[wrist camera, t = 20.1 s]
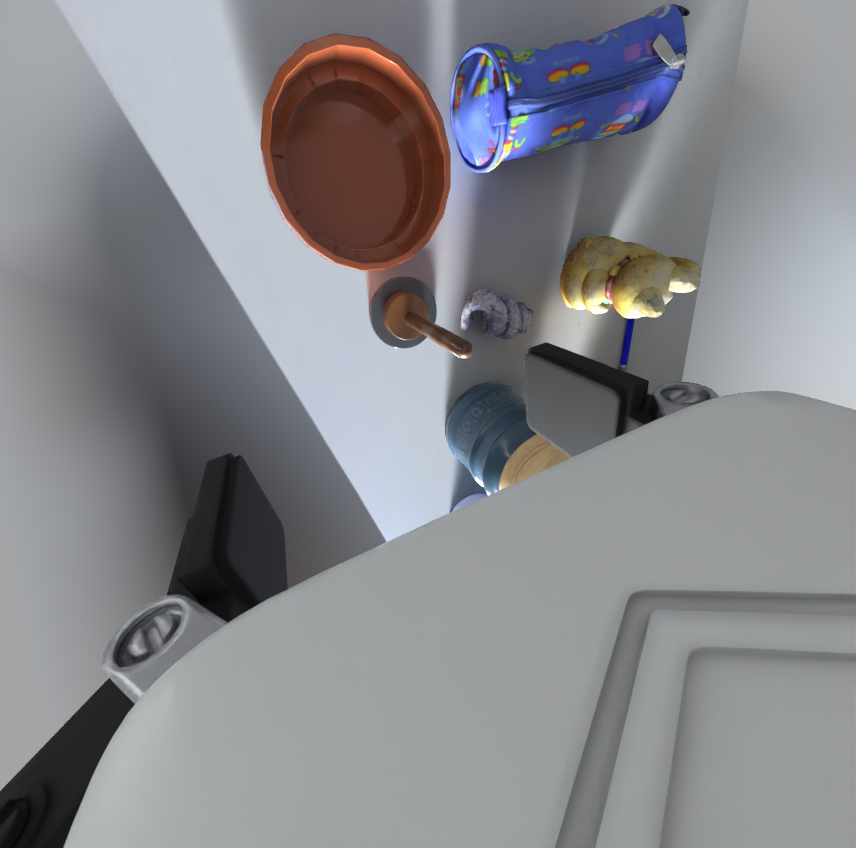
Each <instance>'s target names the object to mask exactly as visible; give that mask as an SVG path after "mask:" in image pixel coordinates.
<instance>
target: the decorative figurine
mask: <svg viewBox="0 0 856 848" xmlns="http://www.w3.org/2000/svg"><path fill="white" fill-rule="evenodd" d="M700 276H701V269H700V267H699V266H698V264H696V263H695V262H694V261H691V260H688V259H685V258H679V257H668V256H664V255H662V254H660V253H658V252H656V251H654V250H651V249H649V248H647V247H645V246H642V245H639V244H636V243H632V242H622V241H620V240H618V239H615V238H613V237H608V236H599V237H594V238H584V239H582V240H581V241H580V242H579V243H578V247H577V248H576V249H575V250H574V251H573V252H572V253H571V254H570V256H569V257H568V259H567V260H566V262H565V264H564V265H563V269H562V272H561V277H560V293H561V296H562V298H563V300H564V302H565V305H566V306H568V307H570V308H571V307H573V308H574V309H578V310H580V309H586V308H587V309H588V310H589V311H590V312H592V313H594V314H601V313H605V312H607V311H608V310H609V309H610V305H611V304H613V305H614V307H615V309H616V310H617V312H618V313H619V314H621V315H622V316H623V317H624V318H639V317H644V316H648V317H652V318H653V317H659V316H661V315H662V314H663V313H664V312H665V305H666V304H667V303H668V302H669V301H670V300H671V299H672V297H673V296H674V293H675V292H679V293H686V292H690V291H693V290H695V289H697V288H698V287H699V284H700V281H699V278H700Z"/></svg>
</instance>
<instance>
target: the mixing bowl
mask: <svg viewBox="0 0 856 848" xmlns="http://www.w3.org/2000/svg"><path fill="white" fill-rule="evenodd" d="M261 151H262V157H263V163H264V167H265V172H266V177H267V181H268V186H269V191H270V194H271V196H272V198H273V200H274V202H275V204H276V206H277V208H278V210H279V212H280V214H281V216H282V218H283V220H284V221H285V223H286V224H287V225H288V227H289V228H290V229H291V230H292V231H293V232H294V233H295V235H296V236H297V237H298V238H299V239H300V240H301V241H302V243H303V244H304V245H306V246H307V247H308V248H310V249H311V250H313V251H314V252H316V253H318V254H319V255H321V256H322V257H324V258H325V259H327V260H329V261H331V262H334V263H337V264H340V265H344V266H347V267H351V268H355V269H358V270H363V271H364V270H378V269H389V268H391V267H393V266H395V265H398V264H400V263H402V262H404V261H406V260H409V259H410V258H412V257H413V256H414V255H415V254H416V253H417V252H418V251H419V250H420V249H421V248H422V247H423V246H424V245H426V244H427V243H428V242H429V240H430V239H431V237H432V235H433V233H434V232H435V230H436V228H437V226H438V224H439V223H440V221H441V219H442V217H443V215H444V210H445V206H446V202H447V198H448V194H449V190H450V149H449V145H448V141H447V137H446V132H445V128H444V124H443V120H442V117H441V115H440V113H439V111H438V109H437V107H436V105H435V103H434V101H433V99H432V97H431V95H430V93H429V91H428V89H427V87H426V85H425V84H424V82H423V81H422V80H421V79H420V78H419V77H418V76H417V75H416V74H415V72H414V71H413V70H412V69H411V68H410V67H409V66H408V65H407V64H406V62H405V61H404V60H403V59H402V58H401V57H400V56H399V55H397V54H395V53H393V52H392V51H390V50H388V49H387V48H385V47H383V46H381V45H380V44H378V43H376V42H375V41H373V40H371V39H369V38H364V37H357V36H350V35H342V34H332V35H329V36H326V37H323V38H320V39H317V40H314V41H311V42H308V43H305V44H303V45H302V46H301V47H300V48H299V49H298V50H297V51H296V52H295V53H294V54H293V55H292V56H291V57H290V58H289V59H288V60H287V61H286V62H285V63H284V64H283V65H282V66H281V67H280V68H279V69H278V70H277V73H276V75H275V78H274V80H273V83H272V85H271V87H270V90H269V92H268V95H267V97H266V100H265V102H264V105H263V116H262V131H261Z"/></svg>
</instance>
